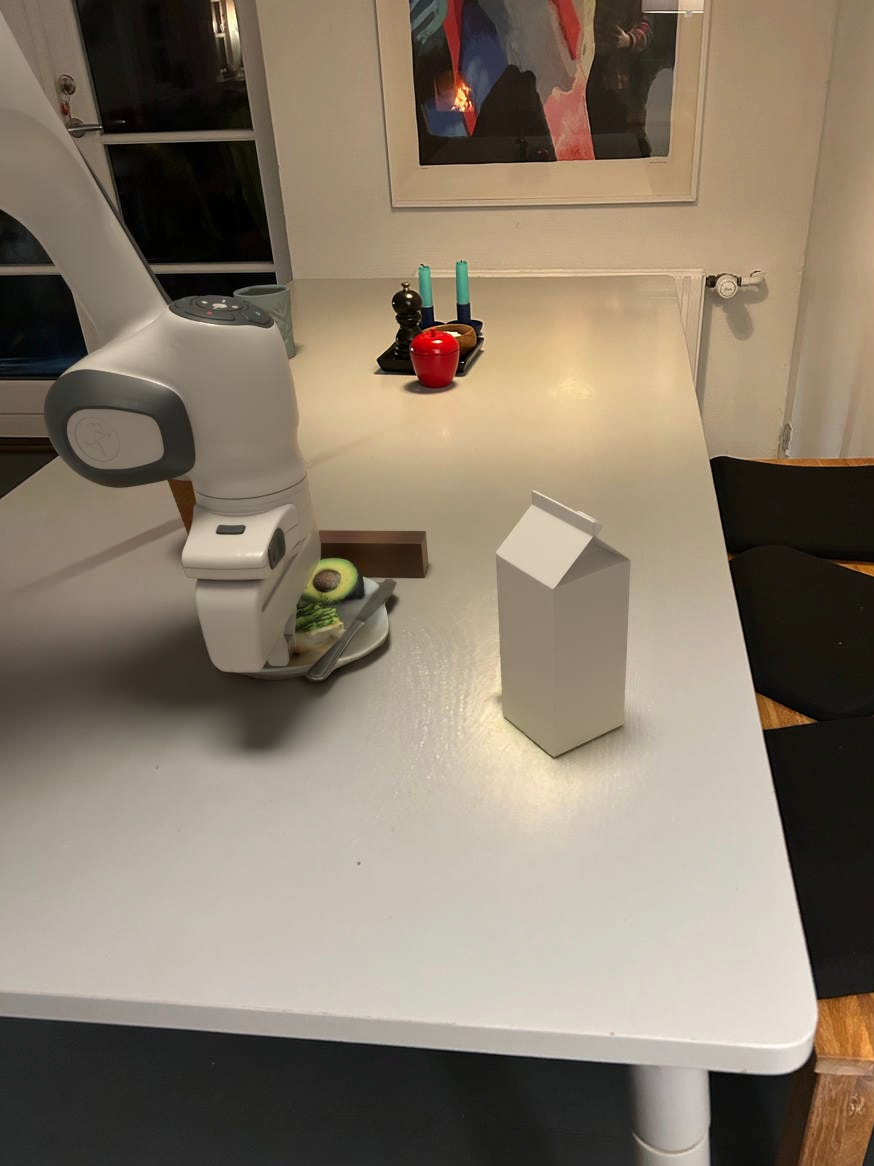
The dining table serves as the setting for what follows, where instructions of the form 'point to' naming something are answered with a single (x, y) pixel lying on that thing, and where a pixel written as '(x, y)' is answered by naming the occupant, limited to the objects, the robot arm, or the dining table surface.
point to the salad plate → (334, 622)
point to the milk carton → (562, 627)
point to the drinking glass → (273, 308)
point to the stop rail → (378, 551)
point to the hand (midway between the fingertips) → (283, 657)
